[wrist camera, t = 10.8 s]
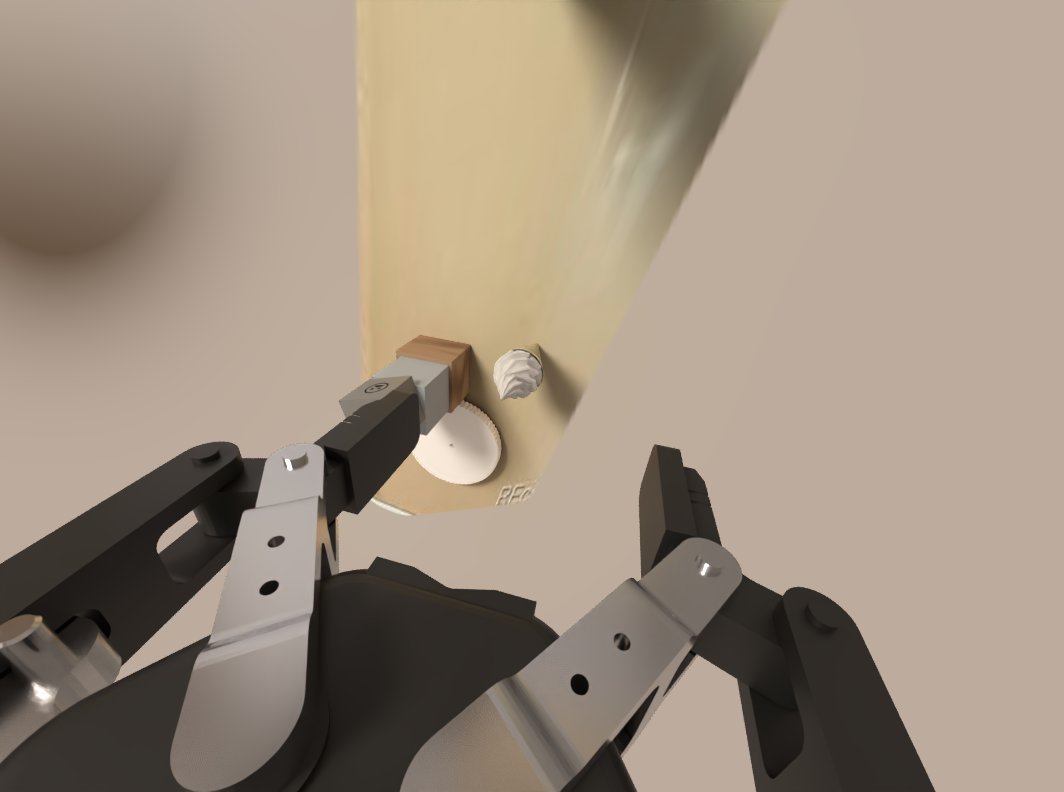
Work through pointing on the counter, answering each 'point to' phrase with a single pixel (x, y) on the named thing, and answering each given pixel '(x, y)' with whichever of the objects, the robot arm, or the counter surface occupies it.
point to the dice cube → (378, 393)
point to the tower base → (443, 362)
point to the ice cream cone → (518, 372)
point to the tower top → (424, 386)
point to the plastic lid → (460, 446)
